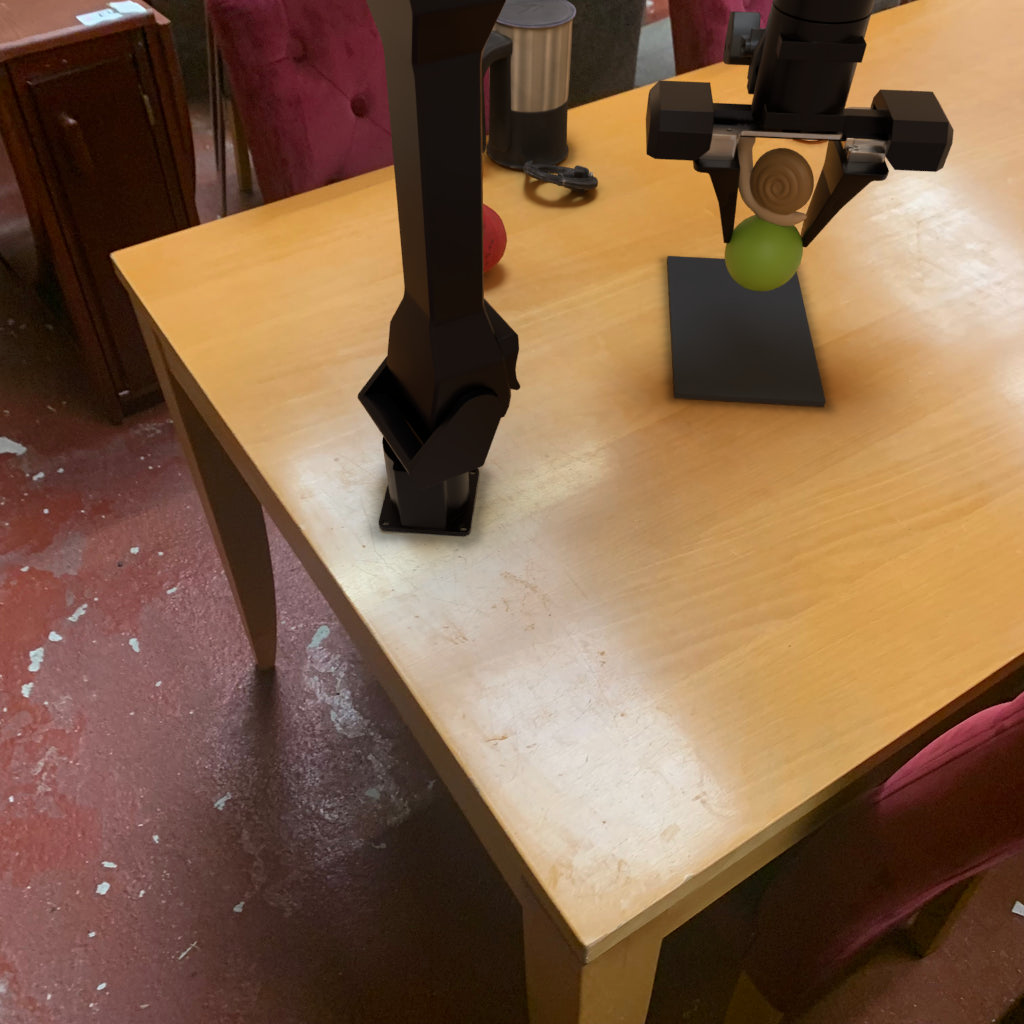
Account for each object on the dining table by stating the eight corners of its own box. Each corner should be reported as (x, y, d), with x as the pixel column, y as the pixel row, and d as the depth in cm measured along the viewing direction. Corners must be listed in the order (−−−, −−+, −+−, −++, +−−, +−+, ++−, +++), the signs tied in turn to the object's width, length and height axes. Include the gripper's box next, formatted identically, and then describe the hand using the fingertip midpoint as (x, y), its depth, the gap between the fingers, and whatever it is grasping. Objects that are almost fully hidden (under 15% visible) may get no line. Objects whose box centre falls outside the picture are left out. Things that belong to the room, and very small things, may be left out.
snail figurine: (732, 252, 69) (761, 95, 60) (807, 282, 66) (849, 121, 57) (694, 283, 67) (718, 123, 58) (770, 315, 64) (808, 151, 55)
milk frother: (514, 125, 104) (515, -15, 93) (636, 159, 99) (652, 15, 88) (446, 177, 96) (438, 30, 85) (575, 217, 91) (585, 66, 80)
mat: (824, 407, 72) (826, 401, 71) (673, 398, 72) (675, 392, 72) (793, 267, 85) (794, 262, 84) (666, 261, 85) (667, 255, 85)
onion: (499, 296, 82) (498, 216, 76) (438, 288, 82) (433, 209, 76) (512, 261, 85) (512, 182, 79) (453, 254, 86) (449, 176, 80)
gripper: (951, -36, 57) (876, 191, 69) (659, -45, 58) (634, 180, 70) (999, 32, 50) (905, 273, 61) (663, 19, 51) (634, 259, 62)
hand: (764, 242), depth 64 cm, fingers closed on snail figurine, 5 cm apart
